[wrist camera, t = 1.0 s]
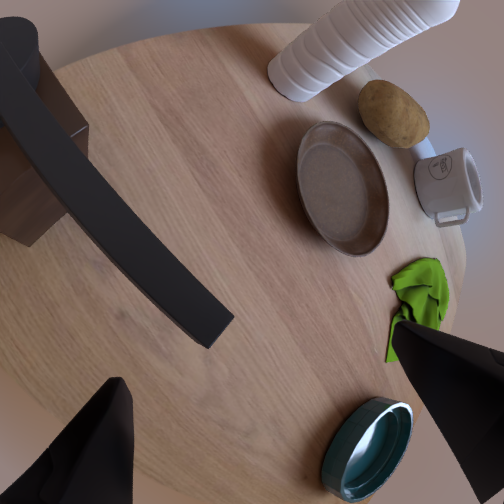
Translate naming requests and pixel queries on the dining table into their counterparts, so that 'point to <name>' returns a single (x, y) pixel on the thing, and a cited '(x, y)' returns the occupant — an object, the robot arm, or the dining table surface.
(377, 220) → the saucer
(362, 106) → the potato
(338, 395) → the dining table surface
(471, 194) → the mug
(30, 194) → the brown rectangular block
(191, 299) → the ladle
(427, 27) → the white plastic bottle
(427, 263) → the cloth
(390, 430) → the bowl
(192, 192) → the dining table surface
